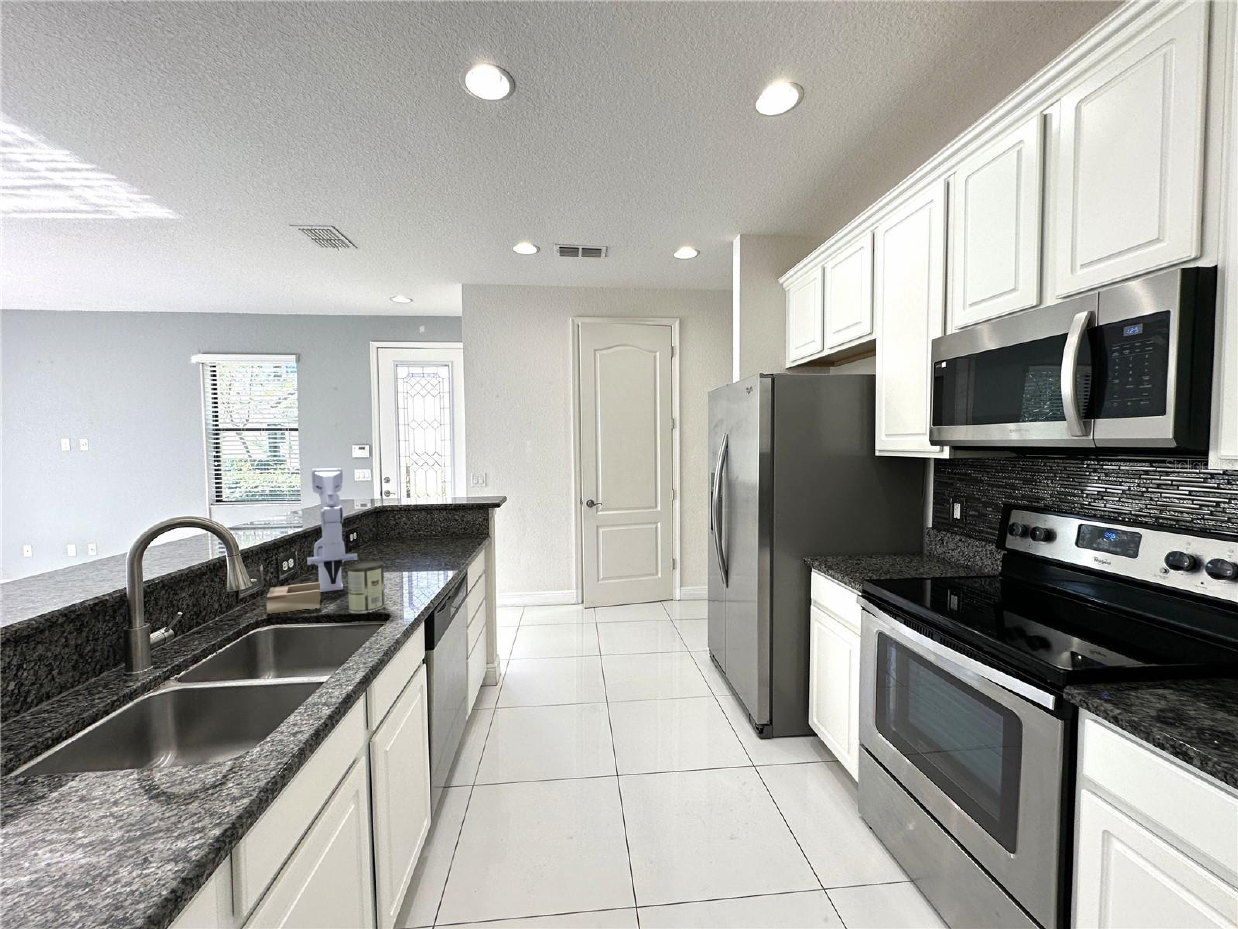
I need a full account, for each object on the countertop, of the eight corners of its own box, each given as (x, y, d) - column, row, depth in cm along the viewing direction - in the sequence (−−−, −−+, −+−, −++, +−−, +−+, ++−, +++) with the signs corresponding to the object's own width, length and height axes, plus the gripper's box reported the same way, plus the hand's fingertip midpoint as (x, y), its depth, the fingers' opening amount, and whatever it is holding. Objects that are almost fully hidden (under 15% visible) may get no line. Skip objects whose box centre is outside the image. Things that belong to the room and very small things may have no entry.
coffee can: (360, 603, 170) (359, 561, 170) (390, 604, 169) (389, 561, 169) (340, 613, 160) (339, 568, 160) (372, 614, 159) (371, 568, 159)
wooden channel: (271, 604, 170) (270, 587, 170) (320, 598, 177) (319, 582, 177) (267, 615, 159) (266, 597, 159) (319, 608, 166) (319, 590, 166)
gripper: (306, 547, 166) (307, 589, 166) (357, 542, 173) (358, 583, 173) (307, 543, 172) (308, 584, 173) (356, 539, 179) (357, 578, 180)
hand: (333, 583), depth 173 cm, fingers closed
